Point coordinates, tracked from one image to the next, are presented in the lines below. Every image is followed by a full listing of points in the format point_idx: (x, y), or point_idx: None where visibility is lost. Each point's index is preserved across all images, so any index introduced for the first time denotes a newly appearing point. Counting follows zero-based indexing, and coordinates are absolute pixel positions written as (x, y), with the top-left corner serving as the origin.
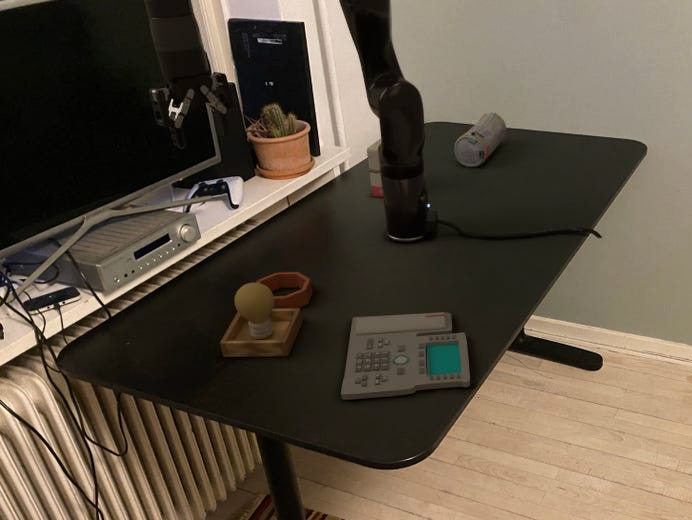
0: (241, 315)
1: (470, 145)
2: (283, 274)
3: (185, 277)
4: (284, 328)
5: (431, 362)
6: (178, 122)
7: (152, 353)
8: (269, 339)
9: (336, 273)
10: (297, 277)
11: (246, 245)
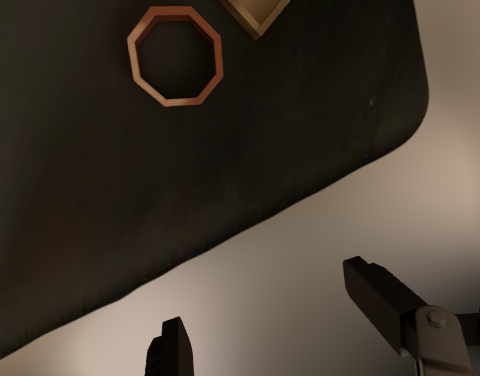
0: (264, 20)
1: None
2: (158, 92)
3: (256, 218)
4: None
5: None
6: (440, 327)
7: (365, 56)
8: None
9: (66, 76)
10: (140, 73)
11: (154, 258)
